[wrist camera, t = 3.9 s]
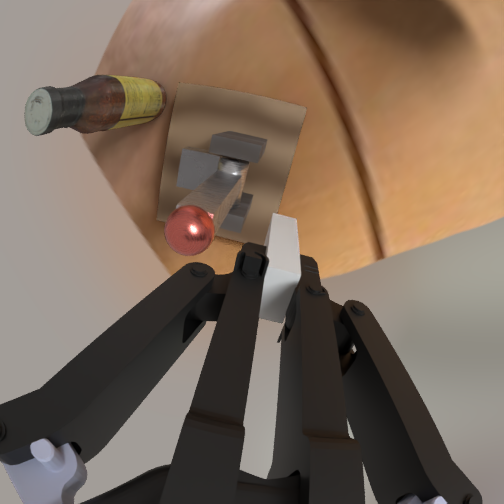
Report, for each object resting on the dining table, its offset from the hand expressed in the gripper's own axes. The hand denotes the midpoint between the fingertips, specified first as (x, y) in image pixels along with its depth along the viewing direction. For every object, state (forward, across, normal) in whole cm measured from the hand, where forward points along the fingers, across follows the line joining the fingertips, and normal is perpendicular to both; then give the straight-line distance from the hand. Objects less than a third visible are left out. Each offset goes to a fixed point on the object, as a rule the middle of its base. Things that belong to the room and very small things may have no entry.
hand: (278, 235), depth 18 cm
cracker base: (+20, -7, 0) cm, 21 cm away
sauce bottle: (+20, -20, +6) cm, 29 cm away
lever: (+13, -7, 0) cm, 14 cm away
